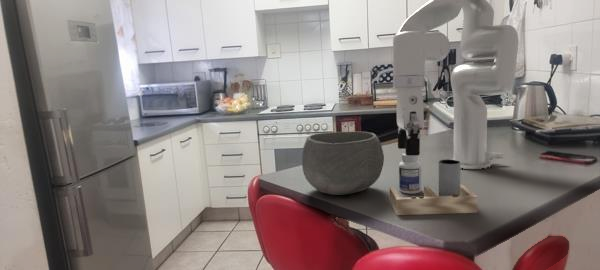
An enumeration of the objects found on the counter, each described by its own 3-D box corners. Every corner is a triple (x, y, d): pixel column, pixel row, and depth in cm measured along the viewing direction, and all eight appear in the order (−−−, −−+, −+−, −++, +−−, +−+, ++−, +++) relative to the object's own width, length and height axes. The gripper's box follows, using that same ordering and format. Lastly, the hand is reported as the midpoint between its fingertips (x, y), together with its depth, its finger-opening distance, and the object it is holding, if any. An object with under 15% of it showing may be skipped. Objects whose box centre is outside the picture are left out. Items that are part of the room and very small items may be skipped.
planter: (435, 203, 92) (435, 160, 91) (454, 202, 92) (454, 158, 91) (443, 210, 88) (443, 164, 86) (463, 208, 88) (464, 163, 86)
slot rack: (462, 199, 94) (462, 183, 94) (477, 212, 85) (477, 195, 85) (389, 201, 95) (389, 186, 94) (397, 215, 86) (396, 198, 86)
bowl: (385, 181, 112) (384, 129, 110) (383, 206, 92) (382, 142, 90) (311, 180, 117) (309, 130, 115) (294, 204, 97) (291, 143, 95)
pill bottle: (403, 187, 106) (403, 151, 105) (423, 189, 103) (423, 152, 102) (396, 192, 102) (395, 155, 100) (416, 195, 99) (416, 156, 97)
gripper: (434, 83, 89) (432, 158, 92) (415, 82, 107) (415, 145, 109) (400, 84, 90) (399, 158, 92) (387, 83, 107) (387, 146, 109)
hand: (408, 151), depth 101 cm, fingers open, 9 cm apart
